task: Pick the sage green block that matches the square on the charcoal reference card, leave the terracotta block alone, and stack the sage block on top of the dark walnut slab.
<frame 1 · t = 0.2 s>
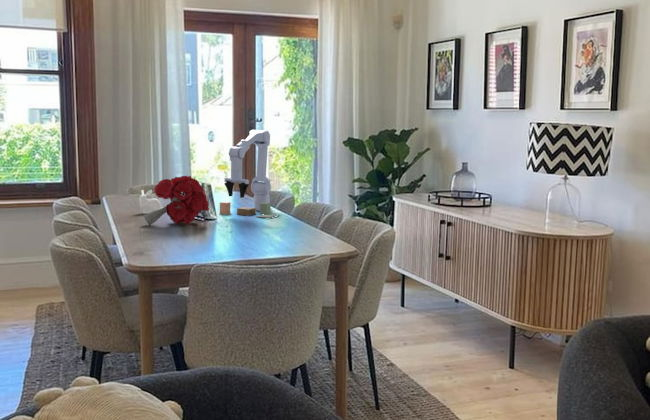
hand: (236, 196, 331), 10 cm above the table, fingers open, 7 cm apart
walnut slab: (246, 214, 339), on the table
bouquet: (176, 224, 301), on the table
sage block: (265, 214, 342), on the table
terracotta block: (225, 213, 339), on the table
reference card: (267, 217, 332), on the table
rabbit: (148, 213, 332), on the table
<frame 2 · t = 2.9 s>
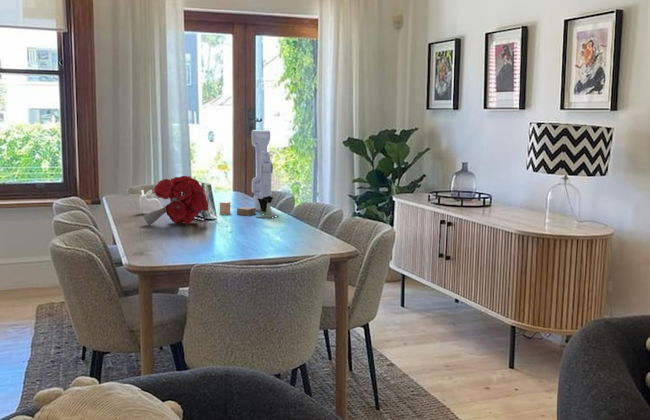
hand: (265, 211, 341), 2 cm above the table, fingers closed on sage block, 4 cm apart
sage block: (265, 214, 342), on the table, touching gripper
everything else where it was.
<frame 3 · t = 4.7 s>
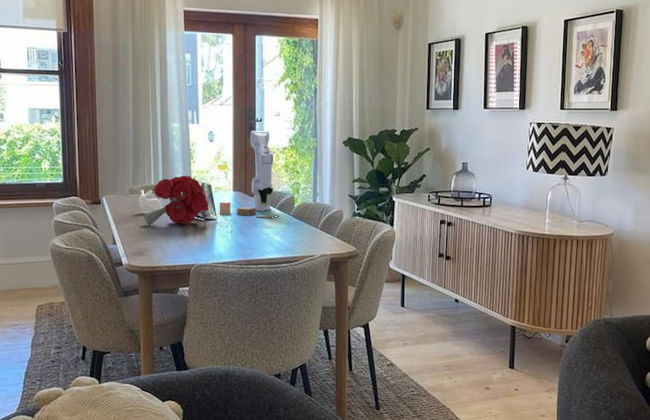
hand: (265, 202, 341), 6 cm above the table, fingers closed on sage block, 4 cm apart
sage block: (265, 205, 341), point 5 cm above the table, touching gripper
everything else where it was.
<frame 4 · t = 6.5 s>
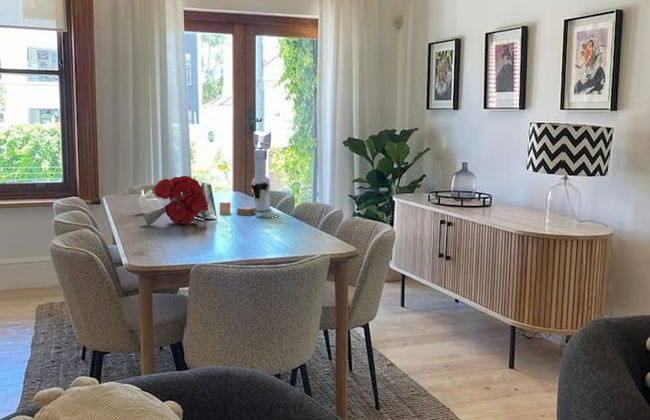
hand: (259, 197, 340), 9 cm above the table, fingers closed on sage block, 4 cm apart
sage block: (259, 201, 340), point 7 cm above the table, touching gripper
everything else where it was.
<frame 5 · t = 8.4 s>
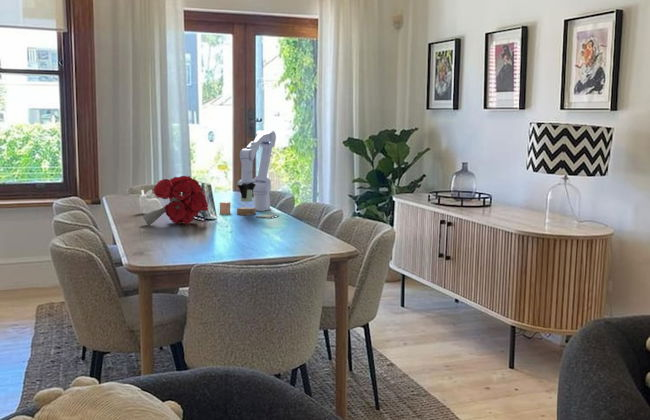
hand: (246, 197, 338), 9 cm above the table, fingers closed on sage block, 4 cm apart
sage block: (246, 201, 338), point 7 cm above the table, touching gripper
everything else where it was.
when the fingers open (6 cm above the table, at t = 10.3 s): sage block drops 1 cm, resting on walnut slab.
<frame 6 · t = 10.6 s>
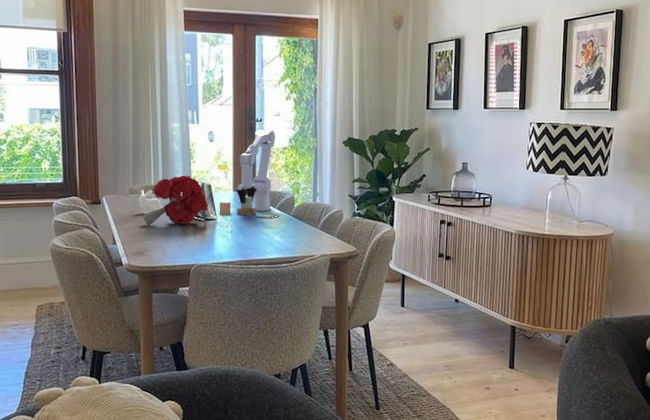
hand: (246, 202, 339), 6 cm above the table, fingers open, 7 cm apart
walnut slab: (246, 214, 339), on the table, touching sage block
sage block: (246, 208, 339), point 3 cm above the table, touching walnut slab
everything else where it was.
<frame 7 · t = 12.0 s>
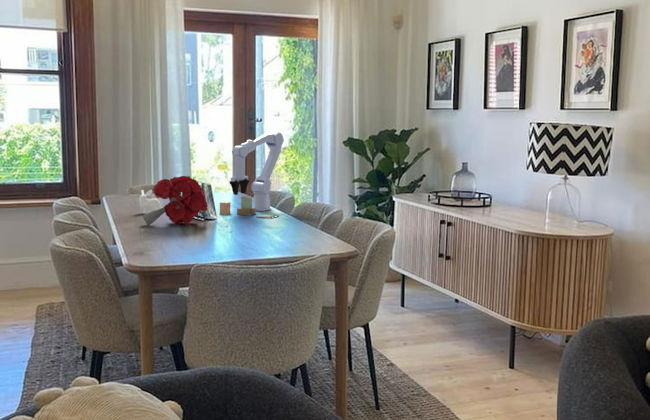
hand: (239, 194, 344), 10 cm above the table, fingers open, 7 cm apart
walnut slab: (246, 214, 339), on the table
sage block: (246, 208, 339), point 3 cm above the table
everything else where it was.
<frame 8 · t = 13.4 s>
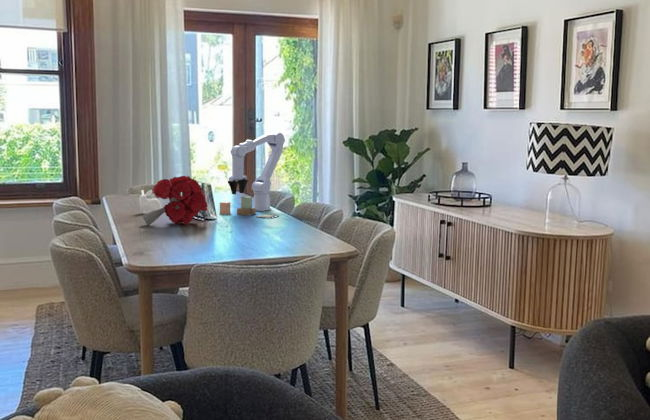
hand: (237, 193, 345), 10 cm above the table, fingers open, 7 cm apart
nothing on the table moved.
at the end: sage block 0.4 cm off-centre on the walnut slab, point 3.5 cm above the walnut slab's base; sage block tilted 1°; the gripper is holding nothing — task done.
